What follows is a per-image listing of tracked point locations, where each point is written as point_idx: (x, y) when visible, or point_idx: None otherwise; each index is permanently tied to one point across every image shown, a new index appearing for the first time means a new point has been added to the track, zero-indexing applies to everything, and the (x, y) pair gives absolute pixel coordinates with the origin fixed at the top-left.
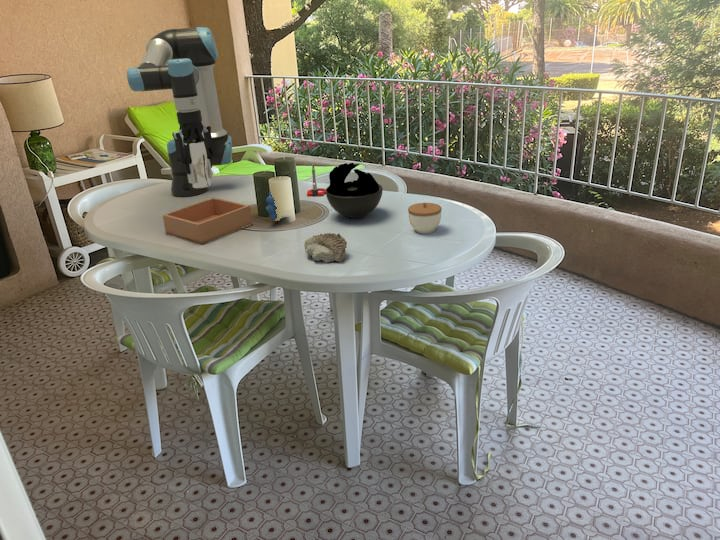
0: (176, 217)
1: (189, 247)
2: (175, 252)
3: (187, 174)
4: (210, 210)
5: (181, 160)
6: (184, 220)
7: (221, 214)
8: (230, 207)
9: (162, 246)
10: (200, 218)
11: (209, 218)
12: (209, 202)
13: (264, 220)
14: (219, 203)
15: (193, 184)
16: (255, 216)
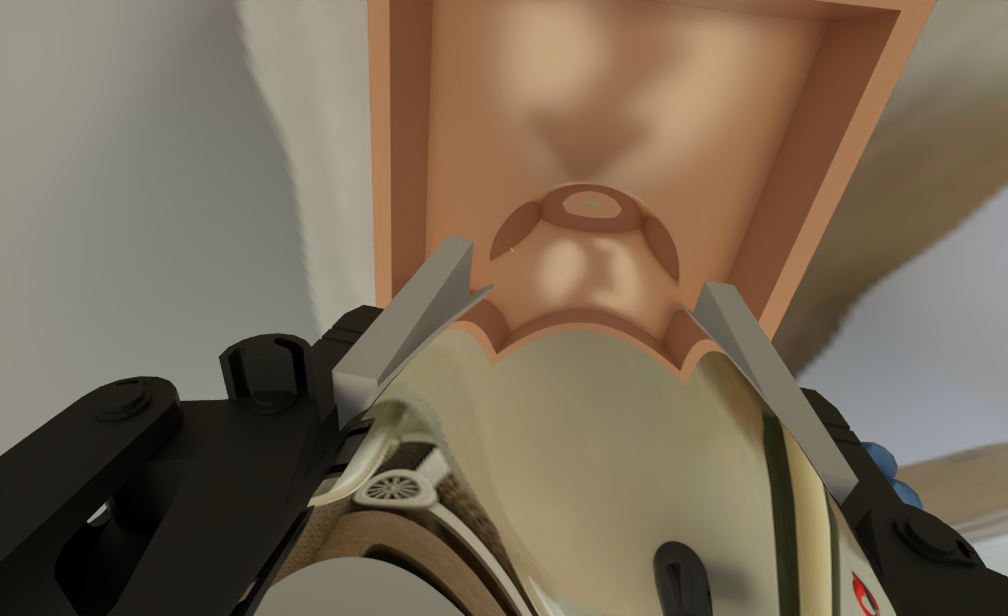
0: (387, 107)
1: (370, 252)
2: (306, 235)
3: (413, 279)
4: (801, 14)
5: (103, 543)
6: (379, 211)
7: (802, 99)
8: (779, 232)
9: (306, 116)
10: (686, 5)
11: (724, 53)
12: (837, 7)
13: (786, 359)
14: (842, 103)
15: (487, 259)
16: (852, 282)
